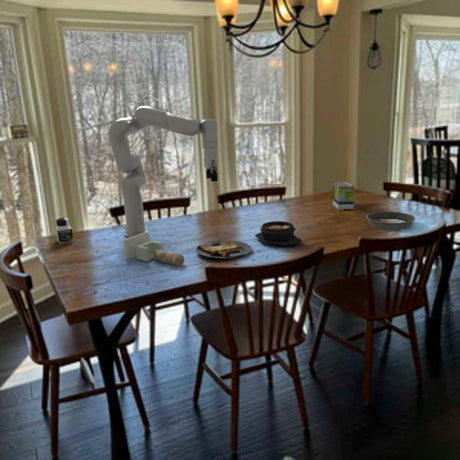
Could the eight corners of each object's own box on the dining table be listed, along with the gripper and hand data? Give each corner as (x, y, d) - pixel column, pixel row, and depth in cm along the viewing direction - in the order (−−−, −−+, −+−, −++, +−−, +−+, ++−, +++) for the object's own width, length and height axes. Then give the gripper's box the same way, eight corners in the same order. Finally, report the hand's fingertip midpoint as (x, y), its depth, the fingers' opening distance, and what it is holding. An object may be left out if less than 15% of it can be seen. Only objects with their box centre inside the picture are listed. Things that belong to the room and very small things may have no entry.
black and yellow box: (59, 244, 228) (55, 221, 225) (57, 240, 234) (53, 218, 231) (73, 241, 231) (70, 219, 228) (71, 238, 237) (68, 216, 234)
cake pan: (394, 217, 254) (394, 209, 253) (425, 228, 231) (425, 219, 230) (356, 222, 247) (356, 214, 246) (384, 233, 224) (384, 225, 223)
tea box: (354, 209, 272) (355, 185, 268) (337, 210, 273) (338, 186, 268) (348, 204, 287) (349, 181, 283) (332, 204, 287) (333, 181, 283)
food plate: (207, 264, 191) (207, 256, 190) (189, 249, 212) (189, 242, 211) (259, 256, 200) (259, 248, 200) (238, 243, 221) (237, 236, 220)
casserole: (246, 240, 222) (245, 224, 220) (273, 232, 233) (273, 216, 231) (282, 252, 203) (282, 234, 201) (310, 243, 214) (310, 226, 212)
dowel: (153, 261, 198) (152, 251, 197) (161, 258, 202) (160, 248, 200) (176, 267, 190) (176, 256, 188) (184, 264, 194) (183, 253, 192)
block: (136, 259, 201) (135, 246, 199) (153, 252, 208) (152, 240, 207) (146, 261, 197) (145, 248, 195) (163, 255, 204) (162, 242, 203)
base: (125, 258, 202) (123, 239, 200) (148, 250, 213) (146, 231, 210) (127, 259, 201) (125, 240, 199) (150, 250, 212) (148, 232, 210)
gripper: (199, 144, 227) (201, 177, 232) (206, 147, 211) (208, 183, 216) (213, 143, 229) (215, 176, 234) (222, 146, 213) (223, 181, 218)
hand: (212, 179), depth 225 cm, fingers open, 9 cm apart
